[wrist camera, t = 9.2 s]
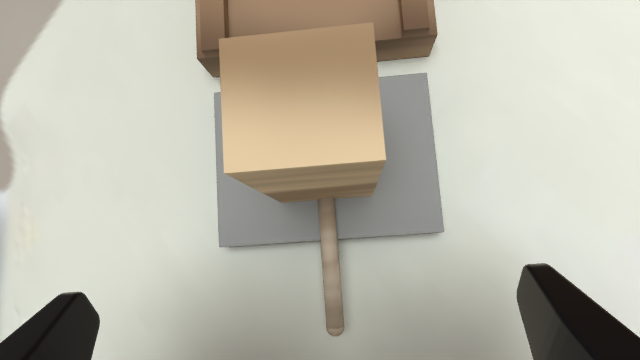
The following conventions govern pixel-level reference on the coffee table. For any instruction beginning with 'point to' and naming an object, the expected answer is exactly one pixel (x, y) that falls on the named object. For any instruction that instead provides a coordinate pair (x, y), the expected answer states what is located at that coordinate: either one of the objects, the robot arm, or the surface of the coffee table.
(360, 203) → the grey rubber pad
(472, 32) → the coffee table surface
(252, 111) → the oak mallet
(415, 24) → the walnut shelf lane
